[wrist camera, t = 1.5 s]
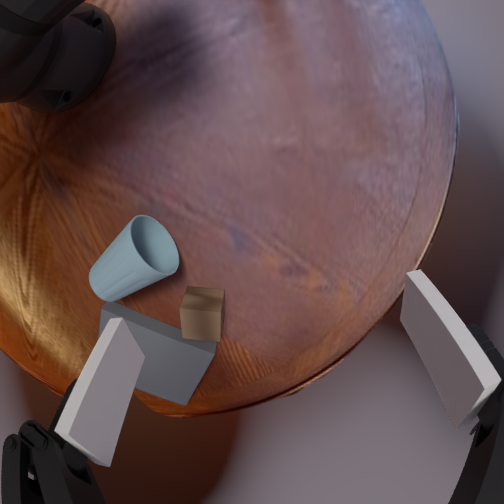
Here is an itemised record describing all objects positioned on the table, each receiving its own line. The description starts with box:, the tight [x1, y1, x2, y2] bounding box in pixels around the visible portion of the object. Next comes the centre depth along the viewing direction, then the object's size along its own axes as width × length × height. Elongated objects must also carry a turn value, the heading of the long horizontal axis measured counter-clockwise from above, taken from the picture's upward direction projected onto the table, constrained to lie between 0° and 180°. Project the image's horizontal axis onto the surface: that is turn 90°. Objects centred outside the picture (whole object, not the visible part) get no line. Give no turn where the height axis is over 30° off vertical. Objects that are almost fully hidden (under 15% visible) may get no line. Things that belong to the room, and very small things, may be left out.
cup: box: [89, 215, 179, 302], centre depth 32 cm, size 8×8×10 cm
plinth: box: [98, 301, 217, 406], centre depth 43 cm, size 18×17×2 cm
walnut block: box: [180, 286, 225, 342], centre depth 37 cm, size 5×5×5 cm
